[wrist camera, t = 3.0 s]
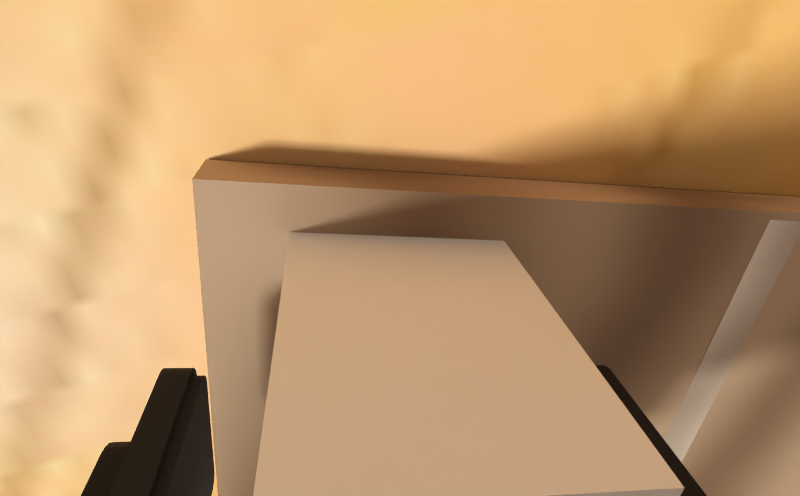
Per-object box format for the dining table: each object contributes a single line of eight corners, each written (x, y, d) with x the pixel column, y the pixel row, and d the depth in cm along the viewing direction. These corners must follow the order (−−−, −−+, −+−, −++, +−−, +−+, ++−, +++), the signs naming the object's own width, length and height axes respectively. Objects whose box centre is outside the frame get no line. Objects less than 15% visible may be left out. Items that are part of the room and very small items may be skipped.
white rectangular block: (503, 240, 11) (690, 496, 5) (452, 466, 14) (536, 771, 8) (289, 231, 10) (248, 522, 4) (286, 473, 13) (261, 815, 8)
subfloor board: (942, 205, 13) (996, 224, 12) (702, 576, 21) (723, 608, 20) (206, 159, 10) (192, 179, 9) (237, 619, 18) (231, 659, 17)
